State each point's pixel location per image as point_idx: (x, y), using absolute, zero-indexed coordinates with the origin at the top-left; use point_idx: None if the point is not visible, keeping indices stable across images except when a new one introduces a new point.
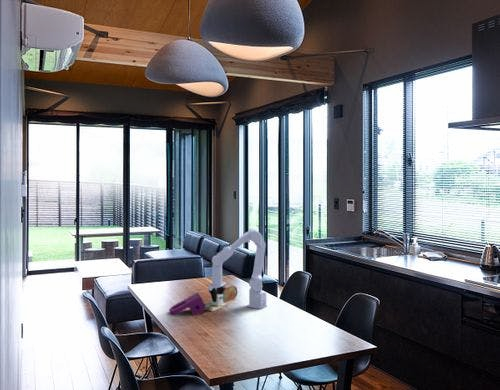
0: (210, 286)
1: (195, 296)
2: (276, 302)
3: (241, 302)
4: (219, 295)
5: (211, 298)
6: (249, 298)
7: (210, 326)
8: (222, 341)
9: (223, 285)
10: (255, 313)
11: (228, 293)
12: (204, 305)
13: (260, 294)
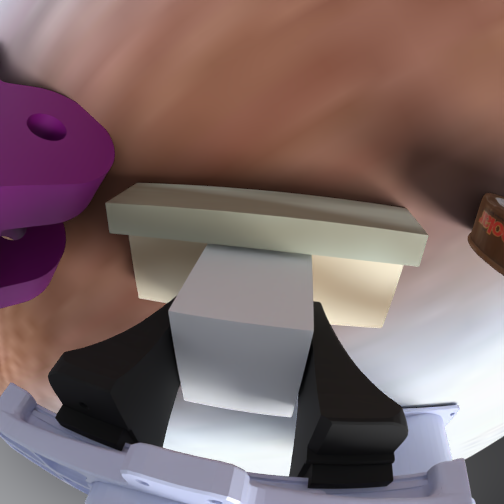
0: (35, 444)
1: None
2: (485, 438)
3: (489, 343)
4: (219, 403)
5: (188, 281)
6: (399, 461)
7: (20, 359)
8: None
9: (398, 493)
10: (274, 457)
11: None
12: (33, 297)
13: None
